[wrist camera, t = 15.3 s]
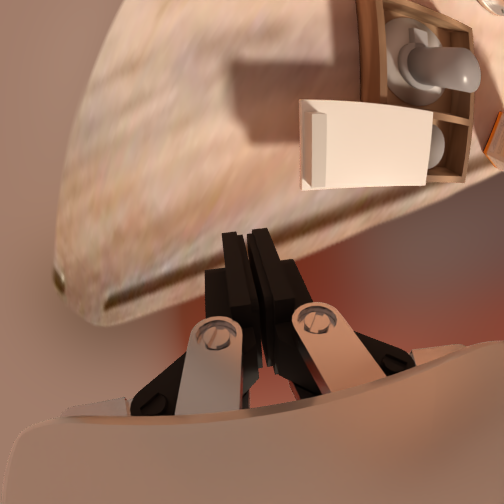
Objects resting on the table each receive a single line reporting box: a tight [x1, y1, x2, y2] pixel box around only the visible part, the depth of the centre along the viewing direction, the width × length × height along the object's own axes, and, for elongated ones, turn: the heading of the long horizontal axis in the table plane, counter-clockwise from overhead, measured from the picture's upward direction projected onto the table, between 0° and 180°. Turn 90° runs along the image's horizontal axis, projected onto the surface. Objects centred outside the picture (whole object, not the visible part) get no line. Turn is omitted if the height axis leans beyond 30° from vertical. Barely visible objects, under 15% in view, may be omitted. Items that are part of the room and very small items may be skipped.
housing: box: [356, 0, 475, 183], centre depth 23 cm, size 14×20×4 cm
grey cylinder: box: [398, 28, 481, 93], centre depth 19 cm, size 6×7×8 cm
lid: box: [299, 99, 433, 191], centre depth 23 cm, size 14×8×3 cm, turn 93°
